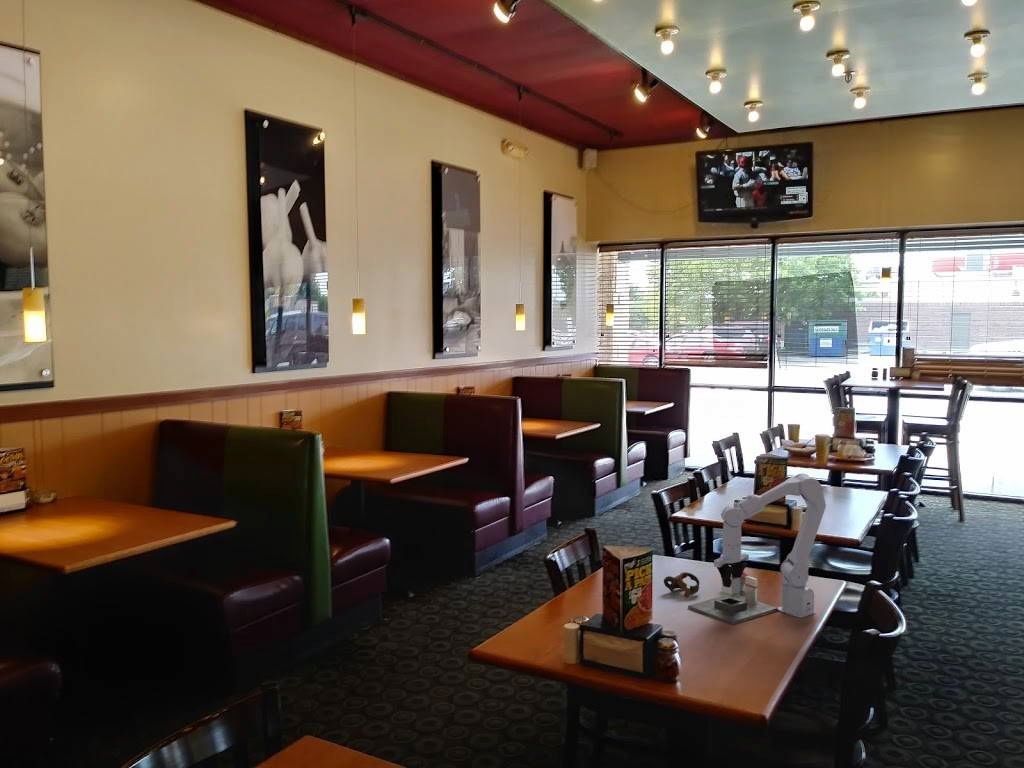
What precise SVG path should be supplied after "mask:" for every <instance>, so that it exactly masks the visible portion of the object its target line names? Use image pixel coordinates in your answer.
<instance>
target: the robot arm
mask: <svg viewBox="0 0 1024 768" xmlns="http://www.w3.org/2000/svg"><path fill="white" fill-rule="evenodd" d="M788 495H789V496H794V497H795V496H797V497H802V499H803V501H804V502H805V504H806V509H805V512H804V515H803V518H802V521H801V524H800V527H799V529H798V531H797V532H798V533H797V536H796V537H795V541H794V545H793V547H792V550H791V551H790V553H788V554H787V556H786V559H785V560H784V561H783V562H782V563H781V565H780V569H779V570H780V573H781V576H783V578H782V580H781V606H778V607H777V608H778V610H779V612H781V613H784V612H785V613H784V614H787V615H790V616H794V617H796V618H799V619H801V618H804V617H807V616H811V615H814V614H816V611H815V609H814V608H815V593H814V590H813V589H812V588H809V586H807V583H808V581H809V568H810V562H809V557H810V555H811V552H812V548H813V545H814V542H815V540H816V536H817V534H818V531H819V528H820V525H821V521H822V520H823V517H824V513H825V511H826V510H825V509H826V507H827V504H826V500H825V494H824V487H823V485H821V483H820V481H819V480H817V479H815V478H814V477H811V476H809V475H808V474H806V473H798V474H796V475H794V476H791V477H789V478H788V479H786V480H785V481H782V482H781V483H780V484H777V485H776V486H774V487H773V488H771V489H769V490H767V491H765V492H764V493H762V494H759V495H757V494H752V495H751V494H748V495H746V498H743V500H740V501H739V502H737V501H735V502H733V505H727V506H725V507H724V508H723V509H722V512H721V513H720V516H721V519H722V520H723V525H722V528H723V529H722V554H720V557H719V558H717V559H714V560H713V567H716V569H717V570H718V573H719V575H720V578H721V583H722V582H723V586H724V587H728V588H729V587H730V582H731V574H732V575H734V576H737V577H740V579H741V576H742V573H743V572H745V569H746V568H747V566H748V565H747V564H748V563H746V562H747V561H749V559H750V557H749V556H750V554H748V553H742V525H743V523H744V522H745V520H748V519H749V518H751V517H753V516H755V515H757V514H759V513H760V512H763V511H764V509H765V508H766V507H765V506H766V505H769V504H771V503H773V502H775V501H777V500H779V499H781V498H783V497H786V496H788ZM744 561H745V562H744Z"/></svg>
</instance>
